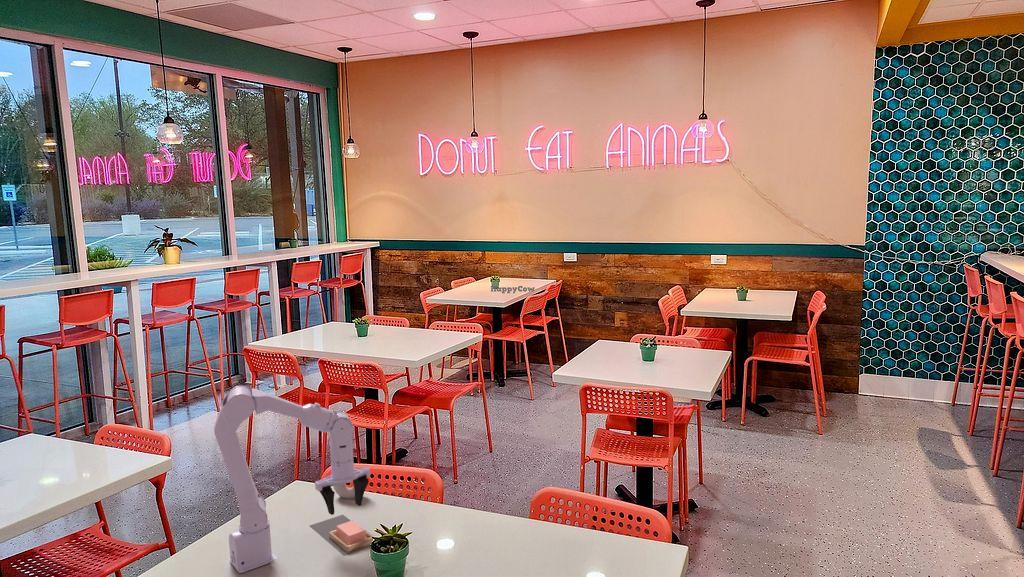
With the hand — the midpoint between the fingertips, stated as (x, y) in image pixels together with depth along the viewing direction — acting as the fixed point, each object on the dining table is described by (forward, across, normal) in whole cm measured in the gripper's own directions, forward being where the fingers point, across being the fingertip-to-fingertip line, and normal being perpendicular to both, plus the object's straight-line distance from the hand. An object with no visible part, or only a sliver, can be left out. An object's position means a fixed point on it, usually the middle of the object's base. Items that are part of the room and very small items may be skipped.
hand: (345, 509), depth 177 cm
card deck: (+8, +1, -2) cm, 8 cm away
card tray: (+8, +1, -2) cm, 8 cm away
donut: (+9, +12, +24) cm, 29 cm away
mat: (+9, +1, +3) cm, 10 cm away
